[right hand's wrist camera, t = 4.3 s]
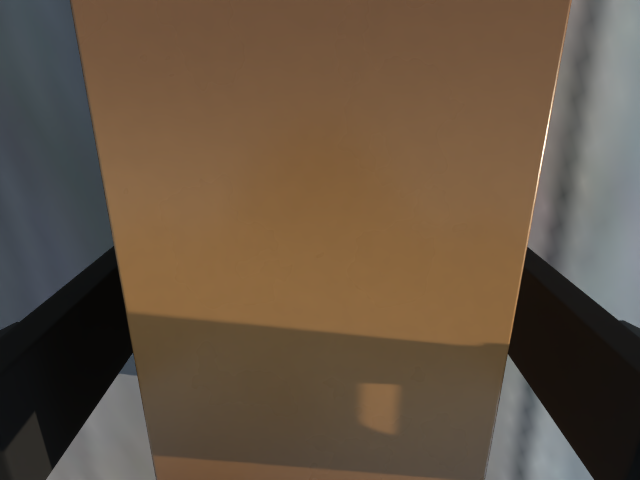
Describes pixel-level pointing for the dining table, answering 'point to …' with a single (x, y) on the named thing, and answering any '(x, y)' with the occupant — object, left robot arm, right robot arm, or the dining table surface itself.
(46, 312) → the right robot arm
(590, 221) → the dining table surface
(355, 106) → the post
